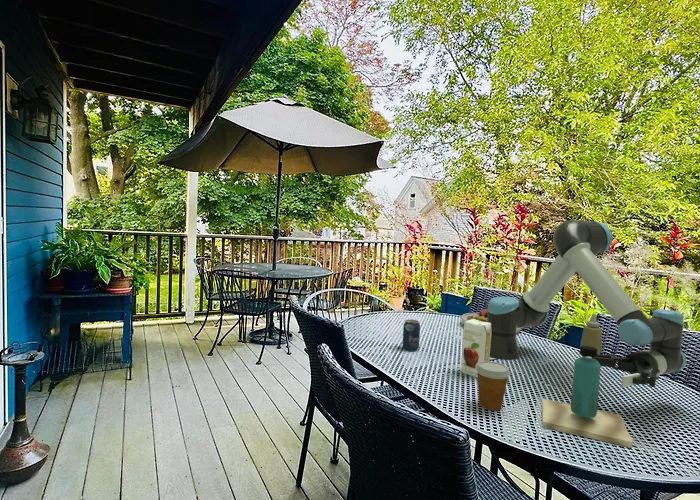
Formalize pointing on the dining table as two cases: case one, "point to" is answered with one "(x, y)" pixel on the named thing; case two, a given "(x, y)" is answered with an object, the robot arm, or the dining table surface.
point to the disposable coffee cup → (492, 384)
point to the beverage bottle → (586, 384)
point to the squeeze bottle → (592, 334)
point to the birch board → (585, 423)
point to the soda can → (411, 335)
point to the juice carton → (475, 345)
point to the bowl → (479, 317)
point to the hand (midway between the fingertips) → (597, 372)
